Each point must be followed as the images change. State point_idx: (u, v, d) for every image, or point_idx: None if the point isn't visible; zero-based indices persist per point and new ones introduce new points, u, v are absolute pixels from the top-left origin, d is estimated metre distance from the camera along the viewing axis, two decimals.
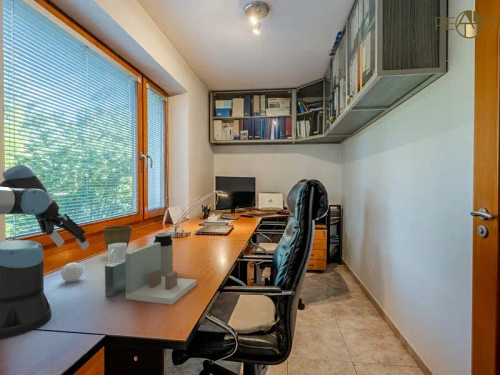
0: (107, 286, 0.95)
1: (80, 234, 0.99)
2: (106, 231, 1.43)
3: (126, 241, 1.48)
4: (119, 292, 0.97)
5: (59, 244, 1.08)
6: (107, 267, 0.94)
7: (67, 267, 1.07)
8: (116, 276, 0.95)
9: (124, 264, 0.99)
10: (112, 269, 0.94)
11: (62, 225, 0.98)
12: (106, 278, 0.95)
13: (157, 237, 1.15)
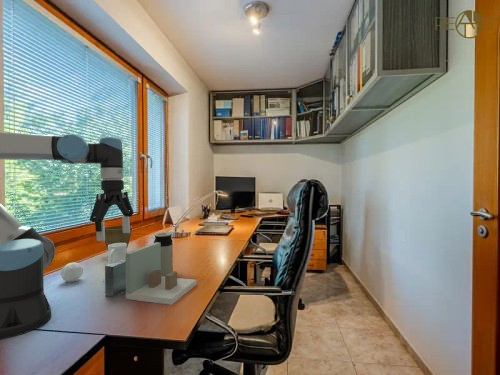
0: (107, 286, 0.95)
1: (91, 218, 0.89)
2: (106, 231, 1.43)
3: (126, 241, 1.48)
4: (119, 292, 0.97)
5: (123, 230, 1.05)
6: (107, 267, 0.94)
7: (67, 267, 1.07)
8: (116, 276, 0.95)
9: (124, 264, 0.99)
10: (112, 269, 0.94)
11: (103, 204, 0.95)
12: (106, 278, 0.95)
13: (157, 237, 1.15)
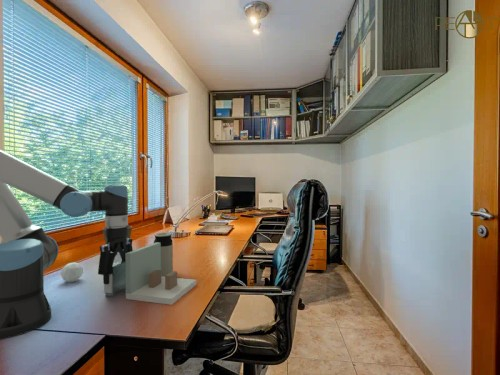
0: None
1: (99, 272, 0.91)
2: None
3: None
4: (119, 292, 0.97)
5: None
6: None
7: (67, 267, 1.07)
8: (116, 275, 0.95)
9: (124, 264, 0.99)
10: (112, 269, 0.94)
11: None
12: None
13: (157, 237, 1.15)
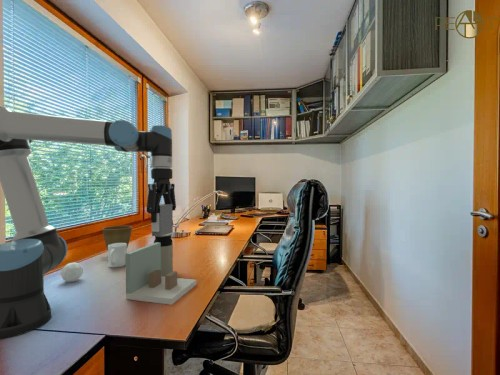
0: None
1: (147, 209, 0.92)
2: (106, 231, 1.43)
3: (126, 241, 1.48)
4: (165, 233, 0.97)
5: None
6: None
7: (67, 267, 1.07)
8: (162, 215, 0.96)
9: (168, 206, 1.00)
10: (159, 208, 0.94)
11: None
12: None
13: (157, 237, 1.15)
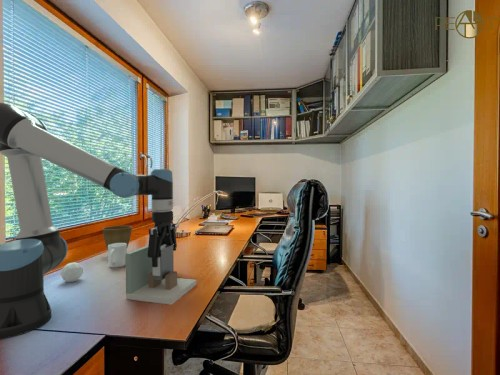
0: None
1: (148, 254, 0.92)
2: (106, 231, 1.43)
3: (126, 241, 1.48)
4: None
5: None
6: None
7: (67, 267, 1.07)
8: (163, 259, 0.96)
9: (169, 248, 1.00)
10: (160, 252, 0.95)
11: None
12: None
13: None
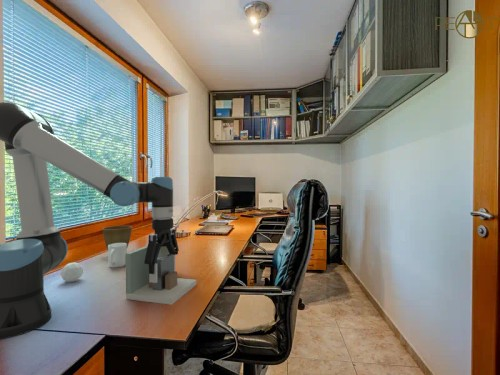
0: None
1: (145, 261, 0.90)
2: (106, 231, 1.43)
3: (126, 241, 1.48)
4: None
5: None
6: None
7: (67, 267, 1.07)
8: (163, 269, 0.96)
9: (169, 258, 1.00)
10: (160, 262, 0.95)
11: None
12: None
13: None
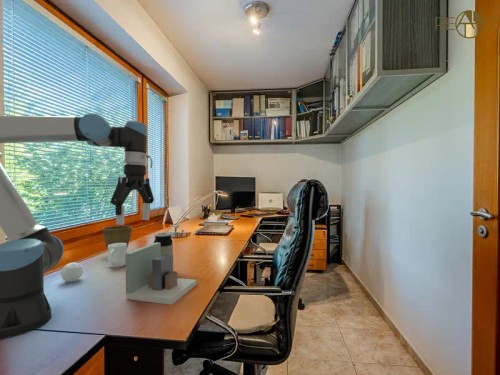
0: (154, 280, 0.95)
1: (111, 201, 0.88)
2: (106, 231, 1.43)
3: (126, 241, 1.48)
4: None
5: (143, 217, 1.04)
6: (155, 260, 0.95)
7: (67, 267, 1.07)
8: (163, 269, 0.96)
9: (169, 258, 1.00)
10: (160, 262, 0.95)
11: (124, 188, 0.94)
12: (153, 271, 0.95)
13: (157, 237, 1.15)
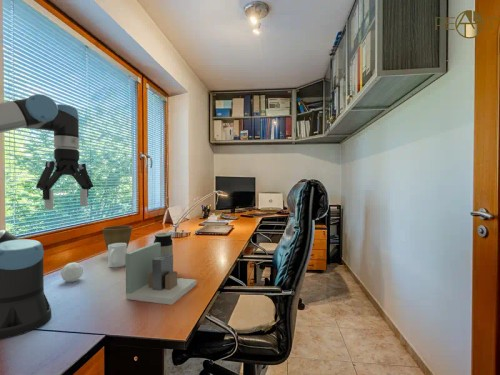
0: (154, 280, 0.95)
1: (37, 185, 0.87)
2: (106, 231, 1.43)
3: (126, 241, 1.48)
4: None
5: (81, 204, 1.03)
6: (155, 260, 0.95)
7: (67, 267, 1.07)
8: (163, 269, 0.96)
9: (169, 258, 1.00)
10: (160, 262, 0.95)
11: (54, 173, 0.92)
12: (153, 271, 0.95)
13: (157, 237, 1.15)
